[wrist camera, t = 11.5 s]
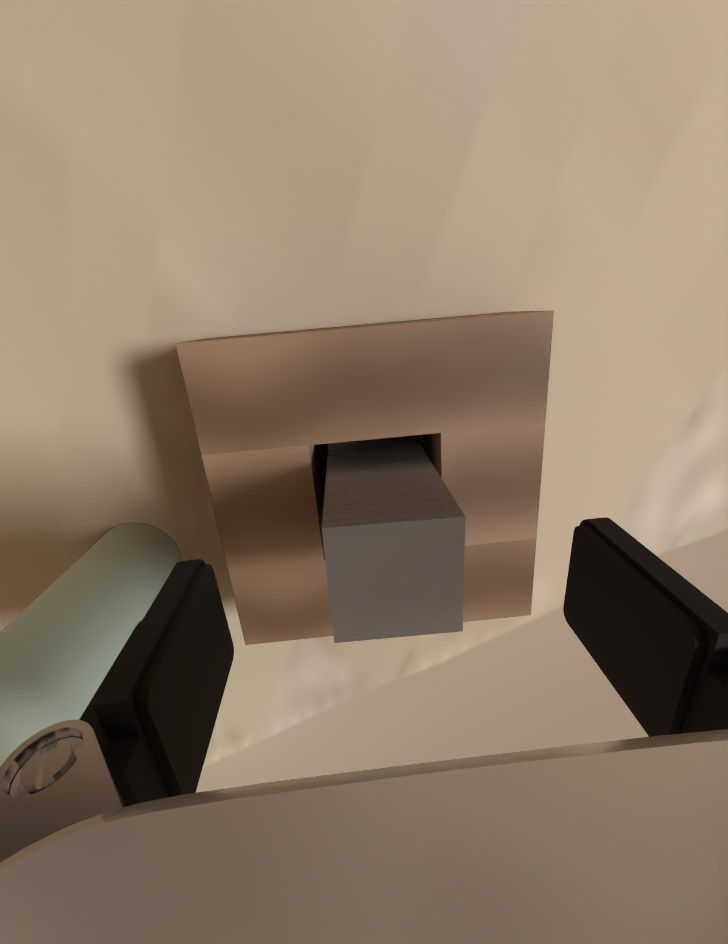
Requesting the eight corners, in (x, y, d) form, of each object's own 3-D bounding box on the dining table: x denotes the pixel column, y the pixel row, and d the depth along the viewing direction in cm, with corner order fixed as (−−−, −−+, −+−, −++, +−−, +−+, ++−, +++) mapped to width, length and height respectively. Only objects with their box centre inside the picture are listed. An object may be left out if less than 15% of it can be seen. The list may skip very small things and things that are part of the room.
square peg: (336, 505, 22) (334, 642, 13) (329, 432, 21) (321, 528, 11) (410, 498, 22) (462, 631, 13) (409, 426, 21) (465, 516, 12)
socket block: (207, 338, 19) (175, 343, 15) (511, 311, 19) (553, 310, 15) (260, 593, 24) (245, 644, 20) (500, 568, 24) (530, 614, 20)
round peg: (87, 527, 22) (-102, 685, 12) (171, 518, 22) (47, 669, 13) (112, 596, 23) (-40, 783, 14) (190, 588, 23) (92, 768, 14)
